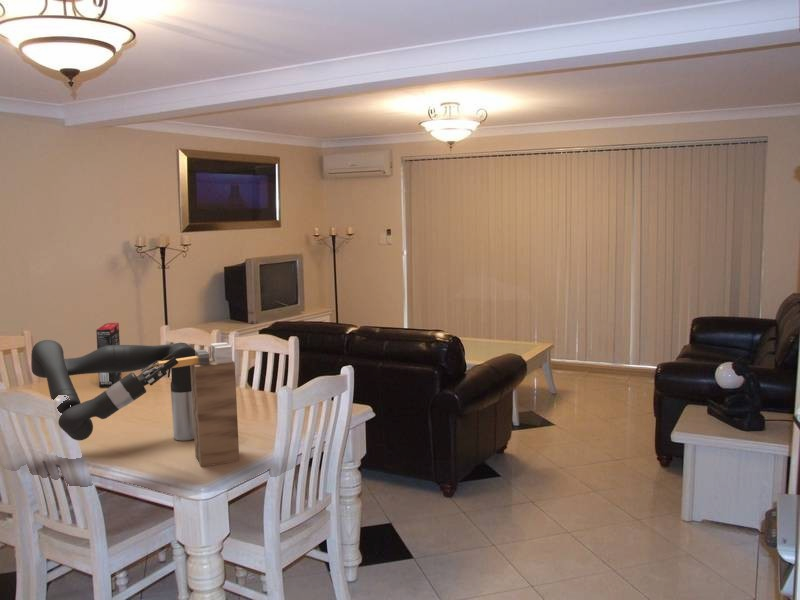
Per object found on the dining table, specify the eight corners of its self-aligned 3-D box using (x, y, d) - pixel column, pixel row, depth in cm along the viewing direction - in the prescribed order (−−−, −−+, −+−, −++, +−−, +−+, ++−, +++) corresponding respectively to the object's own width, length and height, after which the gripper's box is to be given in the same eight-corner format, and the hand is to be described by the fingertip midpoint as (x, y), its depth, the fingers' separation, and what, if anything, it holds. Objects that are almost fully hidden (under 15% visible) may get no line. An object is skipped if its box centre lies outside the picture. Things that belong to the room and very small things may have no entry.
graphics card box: (107, 379, 332) (103, 322, 328) (123, 378, 333) (119, 322, 329) (99, 388, 315) (94, 329, 311) (115, 387, 316) (111, 328, 312)
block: (158, 367, 215) (157, 361, 215) (204, 360, 221) (204, 354, 221) (159, 369, 213) (159, 363, 212) (206, 362, 219) (205, 356, 218)
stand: (195, 456, 227) (189, 345, 222) (232, 450, 232) (227, 341, 227) (200, 467, 218) (194, 350, 213) (239, 460, 223) (234, 346, 218)
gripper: (131, 394, 218) (178, 363, 223) (135, 406, 205) (185, 372, 211) (116, 376, 216) (164, 344, 221) (120, 386, 203) (171, 352, 208)
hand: (174, 358), depth 216 cm, fingers open, 5 cm apart
